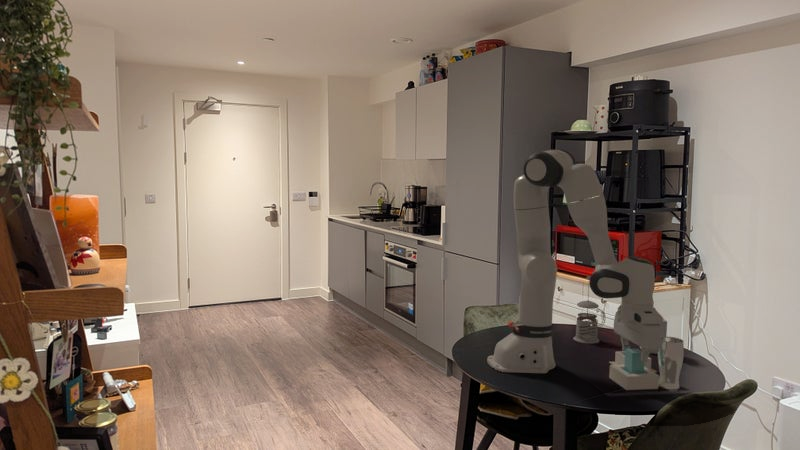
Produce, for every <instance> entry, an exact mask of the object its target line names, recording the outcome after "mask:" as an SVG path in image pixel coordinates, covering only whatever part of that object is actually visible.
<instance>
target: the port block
mask: <svg viewBox="0 0 800 450" xmlns="http://www.w3.org/2000/svg"><path fill="white" fill-rule="evenodd" d="M659 376H660V374H657V372H652V371H651V370H649V369H647V368H646V367H644V373H643V374H629V373H628V372H626V371H625V370H624V365H612V364H610V365H609V376H608V378H609V379H610V380H611V381H612V382H614V383H615V384H616V385H618V386H620V387H621V388H622V389H623V390H625V394H638V393H643V394H644V393H658V392H659V391H658V390H659V385H658V383H659Z"/></svg>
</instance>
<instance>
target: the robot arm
mask: <svg viewBox="0 0 800 450" xmlns="http://www.w3.org/2000/svg"><path fill="white" fill-rule="evenodd" d="M522 169H523V175H520V176H518V178H516V179H515V181H514V184H513V193H512V194H513V197H512V198H513V199H512V200H513V211H514V221H515V223H514V224H515V229H516V230H515V232H516V247H517V260H518V268H519V270H520V272H521V275H520V276H521V277H520V278H521V279H520V280H521V281H520V290H519V295H518V296H519V297H518V315H517V316H518V317H517V318H518V319H517V321H516V322H513V321H512V320H510V321H508V322H507V326H508V327H509V328H510V329H512V330H511V331H512V332H510V334H508V335H506V336H505V337H504V338H502V339H501V340H499V341H498V342H497V343H496V345H495V346H494V347H495V348H494V351H493V352H494V353H493V354H492V355H489V356H487V360H486V362H487V364H488V365H489V366H490V367H491V368H492V369H493V368H494V370H495V371H497V370H498V372H500V371H501V372H500V373H521V374H525V373H526V374H528V373H529V374H547V373H548V372H549V371H550V370H553V369H554V368H555V367H556V365H557V364H556V362H555V358H554V351H553V340H554V338H553V337H554V323H553V313H554V312H553V309H554V308H553V307H554V295H555V290H556V284H557V283H556V282H557V276H558V275H557V274H558V266H557V262H556V260H555V258H554V257H553V256H552V253H551V252H552V251H551V232H552V231H551V230H552V228H551V219H550V208H549V202H548V201H549V200H548V192H549V189H550V188H555V187H559V188H560V189H561V190H562V191H563V194H564V197H565V201H566V206H567V208H568V212H569V215H570V218H571V219H572V220H573V223H574V224H575V226H576V227H577V228H578V229H580V230H581V231H582V232H583V233H584V234H585V236H586V237H587V239H588V242H589V245H590V249H591V252H592V254H593V258H594V263H595V265H594V267H595V268H594V271H593V272H592V274H591V276H590V280H589V281H588V284H589V289H590V290H591V292H592V293H593V294H594V295H595V296H597V297H598V298H601V299H618V298H619V299H620V298H621V304H620V305H619V306H618V307H617V311H616V312H615V314H614V320H613V332H614V333H615V334H617V335H618V336H620V342H621V345H622V347H621V348H622V349H621V350H622V351H625V349H631V346H630V343H631V342H632V343H633V344H634V345H637V346H638V347H639V348H640V347H642V350H641V351H642V354H641V355H639V360H640V361H642V362H647V361H648V357H650V354H651V353H650V352H651V351H658V350H659V349H660V347H661V339H662V328H661V326H660V324H662V323H663V318H664V317H663V316H662V315H661V314H660V313H659V312H658V310H657V309H656V308H655V307H654V298H653V294H654V291H655V284H656V282H655V281H656V275H655V274H656V273H655V267H654V265H653V263H652V262H651V261H649V260H648V259H645V258H643V257H639V256H627V257H625V259H623V260H620V261H619V260H618V258H617V256H616V255H615V252H614V247H613V244H612V241H611V237H610V234H609V230H608V229H609V226H608V212H607V204H606V198H605V195H604V191H603V188H602V185H601V183H600V180H599V178H598V176H597V174H596V172H595V170H594V168H593V167H592V166H591V165H590V164H587V163H577V160H576V158H575V157H574V155H573V154H571V152H568V151H566V150H564V149H548V150H545V151H544V150H543V151H537V152H535V153H533V154H531V155H530V156H529V157H527V159H526V160H525V162H524V164H523V168H522Z"/></svg>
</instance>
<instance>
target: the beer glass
mask: <svg viewBox="0 0 800 450" xmlns="http://www.w3.org/2000/svg"><path fill="white" fill-rule="evenodd" d="M684 346H685V345H684V340H683V339H682V338H679V337H673V336H666V337H662V339H661V347H660V349H659V350H658V354H657V362H658V369H659V371H658V373H659V383H658V387H660V388H662V389H666V390H664V392H669V393H677V392H680V380H679V379H680V373H681V371H682V366H683V363H684V362H683V361H684V357H685V356H684V354H685V352H684V350H685V347H684Z"/></svg>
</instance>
